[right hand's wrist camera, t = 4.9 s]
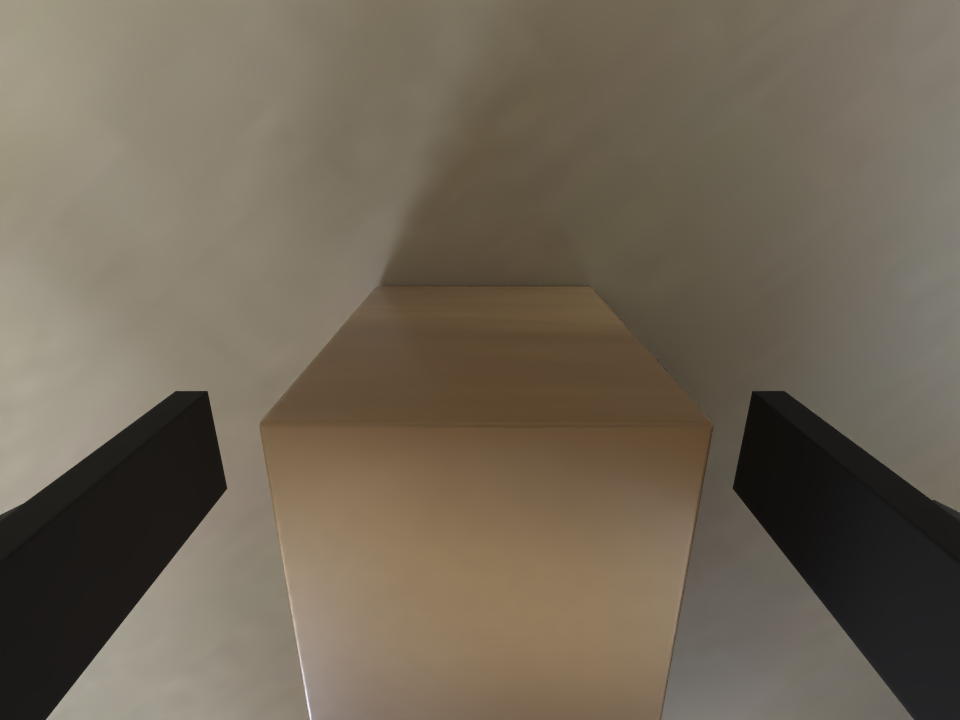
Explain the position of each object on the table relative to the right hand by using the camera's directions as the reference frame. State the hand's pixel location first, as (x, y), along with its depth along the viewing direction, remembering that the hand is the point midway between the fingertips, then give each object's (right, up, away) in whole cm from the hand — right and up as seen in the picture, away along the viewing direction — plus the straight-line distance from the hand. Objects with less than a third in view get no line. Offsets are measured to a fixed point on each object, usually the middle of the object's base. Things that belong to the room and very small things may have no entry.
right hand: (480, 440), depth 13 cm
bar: (0, -7, +5) cm, 8 cm away
